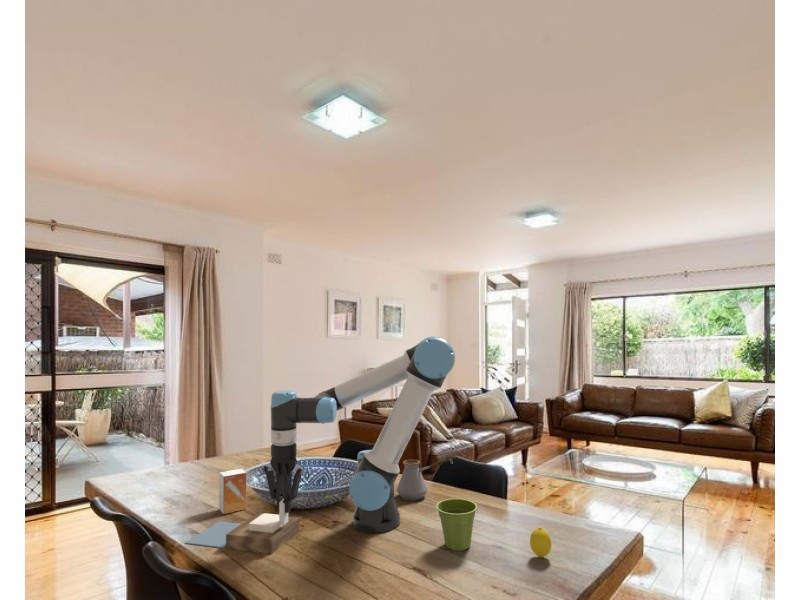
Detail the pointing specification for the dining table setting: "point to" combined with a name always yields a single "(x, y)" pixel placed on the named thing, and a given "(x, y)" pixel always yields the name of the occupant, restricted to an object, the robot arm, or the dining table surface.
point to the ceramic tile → (265, 523)
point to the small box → (232, 491)
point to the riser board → (260, 536)
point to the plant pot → (457, 522)
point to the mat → (214, 535)
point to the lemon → (540, 542)
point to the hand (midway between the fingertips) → (283, 523)
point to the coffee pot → (414, 480)
